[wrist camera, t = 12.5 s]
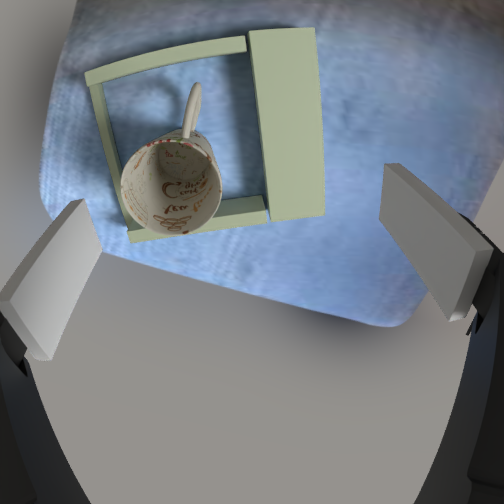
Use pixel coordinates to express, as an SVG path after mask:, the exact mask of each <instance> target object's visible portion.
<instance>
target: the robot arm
mask: <svg viewBox="0 0 504 504" xmlns="http://www.w3.org/2000/svg"><path fill="white" fill-rule="evenodd" d="M379 220H380V221H381V223H382V224H383V225H384V227H385V228H386V229H387V231H388V232H389V233H390V235H391V236H392V237H393V239H394V240H395V241H396V243H397V244H398V246H399V247H400V248H401V250H402V251H403V253H404V254H405V255H406V257H407V258H408V260H409V261H410V263H411V264H412V265H413V267H414V268H415V270H416V271H417V273H418V274H419V276H420V277H421V279H422V280H423V282H424V283H425V285H426V286H427V288H428V289H429V291H430V292H431V294H432V295H433V297H434V299H435V300H436V302H437V303H438V305H439V307H440V308H441V310H442V311H443V313H444V314H445V316H446V318H447V319H448V321H449V322H450V321H454V320H457V319H461V318H465V317H466V316H467V314H468V311H469V309H470V307H471V305H472V304H473V305H474V306H475V308H476V309H477V313H476V315H475V317H474V319H473V321H472V323H471V325H470V327H469V329H468V331H467V333H466V335H469V334H470V332H471V337H470V342H469V347H468V352H467V356H466V361H465V365H464V369H463V373H462V378H461V381H460V386H459V389H458V392H457V396H456V399H455V403H454V406H453V409H452V412H451V416H450V419H449V422H448V425H447V428H446V430H445V433H444V436H443V439H442V441H441V444H440V447H439V449H438V452H437V454H436V457H435V459H434V462H433V464H432V466H431V469H430V471H429V473H428V475H427V478H426V480H425V482H424V484H423V486H422V488H421V491H420V493H419V495H418V497H417V499H416V500H415V502H414V504H504V253H502V252H501V251H500V249H499V248H498V247H497V246H496V245H495V244H494V243H493V242H492V241H491V240H490V239H489V238H488V237H487V236H486V235H485V234H483V232H482V231H481V230H480V229H479V228H476V225H475V224H474V223H473V222H472V221H470V220H469V219H468V218H467V217H465V216H463V215H462V214H460V213H458V212H456V211H455V210H454V209H453V208H452V207H451V206H450V205H449V204H447V203H446V202H445V201H444V200H443V199H442V198H441V197H440V196H438V195H437V194H436V193H435V192H434V191H433V190H431V189H430V188H429V187H428V186H427V185H426V184H424V183H423V182H422V181H421V180H420V179H418V178H417V177H416V176H415V175H413V174H412V173H411V172H410V171H408V170H407V169H406V168H405V167H403V166H402V165H401V164H400V163H391V164H384V174H383V185H382V195H381V205H380V214H379ZM102 250H103V249H102V247H101V244H100V241H99V239H98V236H97V233H96V231H95V228H94V225H93V222H92V219H91V217H90V214H89V211H88V208H87V205H86V202H85V199H79V200H75V201H71V202H70V203H69V204H68V205H67V206H66V207H65V208H64V210H63V211H62V212H61V213H60V214H59V215H58V217H57V218H56V219H55V220H54V221H53V222H52V224H51V225H50V226H49V227H48V228H47V230H46V231H45V232H44V233H43V235H42V236H41V237H40V238H39V240H38V241H37V242H36V244H35V245H34V246H33V247H32V249H31V250H30V251H29V253H28V254H27V255H26V257H25V258H24V259H23V261H22V262H21V263H20V265H19V266H18V267H17V269H16V270H15V272H14V273H13V275H12V276H11V278H10V279H9V280H8V282H7V283H6V285H5V286H4V288H3V289H2V291H1V292H0V504H91V503H90V501H89V500H88V498H87V496H86V495H85V493H84V491H83V489H82V488H81V486H80V484H79V482H78V480H77V479H76V477H75V475H74V473H73V471H72V469H71V467H70V465H69V463H68V461H67V459H66V457H65V455H64V453H63V451H62V449H61V447H60V445H59V442H58V440H57V438H56V436H55V433H54V431H53V429H52V426H51V424H50V421H49V419H48V416H47V414H46V411H45V409H44V406H43V404H42V401H41V398H40V396H39V392H38V390H37V387H36V384H35V381H34V378H33V374H32V371H31V368H30V365H29V363H28V361H27V359H26V358H25V357H24V354H25V352H26V350H27V349H28V350H29V352H30V353H31V354H32V356H33V357H34V358H35V359H36V360H46V361H51V360H52V358H53V355H54V353H55V350H56V348H57V345H58V343H59V341H60V338H61V336H62V333H63V331H64V328H65V326H66V324H67V322H68V320H69V317H70V315H71V313H72V311H73V308H74V306H75V304H76V302H77V300H78V297H79V296H80V293H81V291H82V289H83V287H84V285H85V283H86V281H87V279H88V277H89V275H90V273H91V271H92V269H93V267H94V265H95V263H96V261H97V260H98V258H99V256H100V254H101V252H102Z"/></svg>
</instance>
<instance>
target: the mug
mask: <svg viewBox="0 0 504 504" xmlns="http://www.w3.org/2000/svg"><path fill="white" fill-rule="evenodd" d="M200 108H201V84H200V83H199V82H196V83H195V84H194V85H193V87H192V89H191V91H190V94H189V97H188V101H187V105H186V109H185V114H184V119H183V125H182V129H177V130H174V131H171V132H169V133H167V134H165V135H163V136H161V137H159V138H157V139H155V140H153V141H151V142H149V143H147V144H145V145H143V146H142V147H141V148H139V149H138V150H137V151H136V152H135V153H134V154H133V155H132V156H131V157H130V158H129V160H128V161H127V163H126V165H125V167H124V169H123V172H122V175H121V181H120V191H121V197H122V201H123V203H124V206H125V208H126V210H127V211H128V213H129V214H130V215H131V217H132V218H133V219H134V220H135V221H136V222H137V223H138V224H140V225H141V226H143V227H144V228H146V229H148V230H150V231H152V232H154V233H158V234H162V235H168V236H177V235H184V234H188V233H191V232H193V231H196V230H198V229H199V228H201V227H202V226H204V225H205V224H206V223H207V222H208V221H209V220H210V219H211V218H212V217H213V216H214V214H215V213H216V211H217V209H218V207H219V204H220V201H221V197H222V179H221V175H220V171H219V168H218V165H217V162H216V159H215V157H214V154H213V151H212V148H211V145H210V143H209V142H208V140H207V139H206V138H205V137H204V136H203V135H202V134H201V133H199V132H197V131H195V127H196V123H197V119H198V115H199V112H200Z"/></svg>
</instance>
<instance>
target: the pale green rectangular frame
mask: <svg viewBox="0 0 504 504" xmlns="http://www.w3.org/2000/svg"><path fill="white" fill-rule="evenodd" d="M247 37H248V45H249V52H250V60H251V68H252V76H253V84H254V92H255V100H256V108H257V117H258V125H259V134H260V143H261V151H262V160H263V169H264V178H265V188H266V197H267V207H268V212H269V216H270V220H271V222H276V221H284V220H292V219H299V218H307V217H315V216H323V215H325V180H324V148H323V126H322V109H321V94H320V81H319V69H318V58H317V48H316V38H315V29H314V28H282V29H266V30H254V31H249V32H248V33H247ZM246 51H247V49H246V41H245V36H236V37H228V38H221V39H214V40H208V41H202V42H196V43H190V44H185V45H180V46H175V47H171V48H166V49H162V50H158V51H154V52H150V53H146V54H142V55H138V56H134V57H131V58H127V59H124V60H121V61H117V62H114V63H111V64H108V65H105V66H102V67H99V68H96V69H93V70H90V71H87V72H85V73H84V74H85V79H86V84H87V87H88V86H89V88H90V93H91V98H92V102H93V107H94V111H95V116H96V120H97V124H98V128H99V132H100V136H101V140H102V144H103V148H104V152H105V156H106V159H107V163H108V166H109V170H110V173H111V177H112V180H113V184H114V187H115V190H116V194H117V197H118V200H119V203H120V207H121V210H122V213H123V216H124V219H125V222H126V225H127V228H128V230H127V234H128V237H129V240H130V243H137V242H143V241H149V240H155V239H162V238H168V237H175V236H168V235H162V234H158V233H154V232H152V231H150V230H148V229H146V228H144V227H143V226H141V225H140V224H138V223H137V222H136V221H135V220H134V219H133V218H132V217H131V215H130V214H129V213H128V211H127V210H126V208H125V206H124V203H123V201H122V197H121V191H120V181H121V175H122V172H123V171H122V167H121V163H120V160H119V156H118V152H117V148H116V144H115V140H114V136H113V132H112V128H111V123H110V119H109V115H108V110H107V106H106V101H105V96H104V91H103V86H102V83H104V82H108V81H111V80H114V79H117V78H121V77H124V76H128V75H131V74H135V73H139V72H143V71H146V70H150V69H155V68H159V67H163V66H168V65H172V64H177V63H182V62H187V61H192V60H198V59H203V58H209V57H216V56H222V55H230V54H237V53H245V52H246ZM265 223H267V217H266V209H265V205H264V201H263V198H262V195H257V196H249V197H242V198H235V199H228V200H221V201H220V204H219V207H218V209H217V211H216V213H215V214H214V216H213V217H212V218H211V219H210V220H209V221H208V222H207V223H206V224H205V225H204V226H202V227H201V228H199V229H198V230H196V231H193V232H191V233H188V234H195V233H201V232H208V231H215V230H222V229H229V228H236V227H243V226H250V225H258V224H265ZM188 234H184V235H188ZM177 236H181V235H177Z"/></svg>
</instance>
